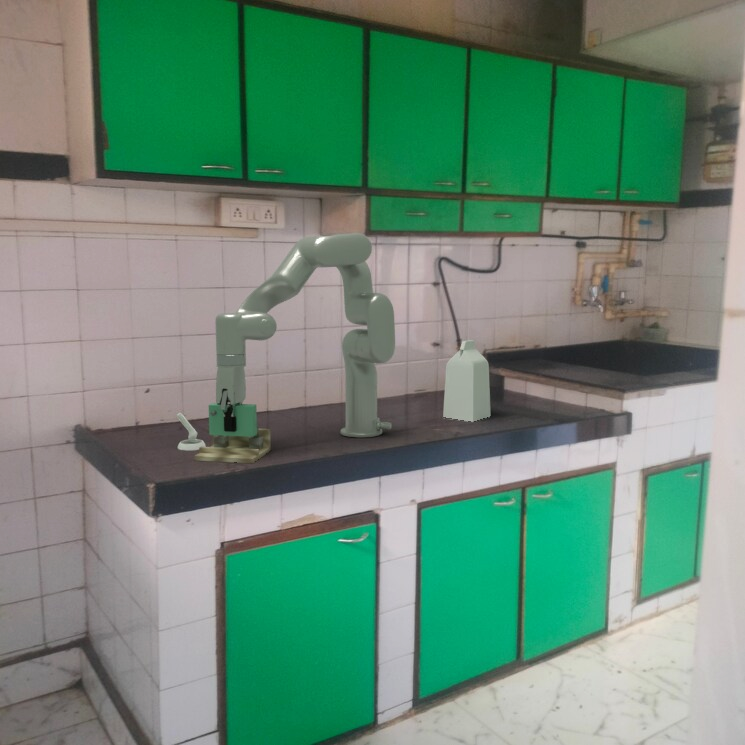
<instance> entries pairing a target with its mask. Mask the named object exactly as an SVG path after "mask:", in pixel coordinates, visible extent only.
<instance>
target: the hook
mask: <svg viewBox="0 0 745 745" xmlns="http://www.w3.org/2000/svg"><path fill="white" fill-rule="evenodd" d="M176 417H177V419H178V420H179V421H180V423H181V424H182V425H183V426H184V428H185V429H186V430H187V432H188V437H187V439H183V440H181V441H180V442H179V443H178V445H177V449H178V450H179V451H197V450H199V447H207V446H206V443H205V442H204V441H205V440H202V439H197V438H198V437H197V436H198V431H196V429H195V428H194V427H193V426H192V424H191V423H190V421H188V419H187V418H186V417H185V416H184V414H183V413H182V412H179V413H177V414H176Z"/></svg>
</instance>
